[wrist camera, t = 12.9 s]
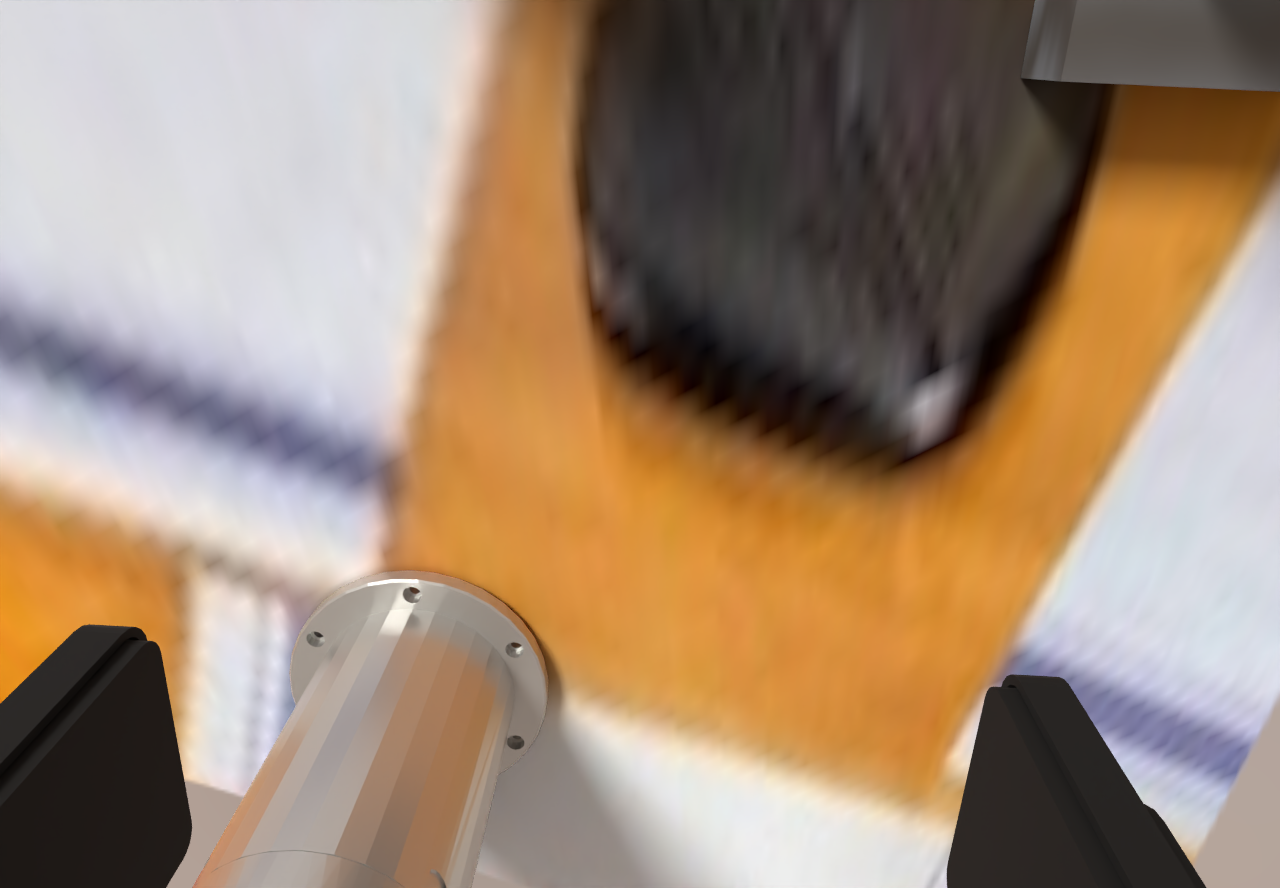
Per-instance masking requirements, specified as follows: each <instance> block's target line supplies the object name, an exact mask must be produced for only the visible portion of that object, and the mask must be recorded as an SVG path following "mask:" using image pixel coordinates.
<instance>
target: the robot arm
mask: <svg viewBox="0 0 1280 888" xmlns="http://www.w3.org/2000/svg"><path fill="white" fill-rule="evenodd" d="M416 588H417V589H416ZM289 674H290V682H291V691H292V696H293V698H294V701H295V704H296V707H295V709H294V710H293V712H292V714H291V716H290V717H289V719H288V721H287V723H286V724H285V726H284V728H283V730H282V731H281V733H280V735H279V737H278V738H277V740H276V742H275V744H274V745H273V747H272V749H271V751H270V752H269V754H268V756H267V758H266V759H265V761H264V763H263V765H262V766H261V768H260V770H259V772H258V773H257V775H256V777H255V779H254V780H253V782H252V784H251V786H250V787H249V789H248V791H247V793H246V794H245V796H244V798H243V800H242V801H241V803H240V805H239V807H238V808H237V810H236V812H235V814H234V815H233V817H232V819H231V821H230V822H229V824H228V826H227V828H226V829H225V831H224V833H223V835H222V836H221V838H220V840H219V842H218V843H217V845H216V847H215V848H214V850H213V852H212V854H211V855H210V857H209V859H208V861H207V863H206V864H205V866H204V868H203V870H202V872H201V873H200V875H199V877H198V878H197V880H196V882H195V884H194V885H193V887H192V888H471V887H472V883H473V879H474V875H475V871H476V866H477V862H478V858H479V854H480V850H481V845H482V841H483V837H484V833H485V829H486V824H487V820H488V816H489V812H490V808H491V803H492V799H493V795H494V791H495V787H496V782H497V778H498V775H499V774H501V773H502V772H504V771H505V770H507V769H509V768H510V767H512V766H513V765H514V764H515V763H516V762H517V761H518V760H519V759H520V758H521V757H522V756H523V755H524V754H525V753H526V752H527V751H528V749H529V748H530V746H531V745H532V743H533V742H534V740H535V739H536V737H537V736H538V733H539V731H540V728H541V725H542V723H543V720H544V717H545V712H546V706H547V701H548V674H547V670H546V665H545V661H544V657H543V655H542V653H541V650H540V648H539V646H538V644H537V642H536V640H535V638H534V636H533V635H532V633H531V632H530V631H529V629H528V628H527V627H526V625H525V624H524V622H523V621H522V620H521V619H520V618H519V617H518V616H517V615H516V614H515V613H514V612H513V611H512V610H511V609H510V608H509V607H508V606H506V605H505V604H504V603H503V602H502V601H500V600H499V599H497V598H496V597H494V596H492V595H491V594H489V593H488V592H486V591H485V590H483V589H481V588H479V587H477V586H474V585H472V584H470V583H468V582H465V581H463V580H461V579H458V578H454V577H450V576H446V575H443V574H439V573H435V572H424V571H414V570H405V571H391V572H383V573H379V574H375V575H371V576H367V577H363V578H360V579H358V580H356V581H354V582H352V583H350V584H348V585H345V586H343V587H341V588H340V589H338V590H337V591H336V592H334V593H333V594H332V595H330V596H329V597H328V598H326V599H325V600H324V601H323V602H322V603H321V604H320V605H319V606H318V608H317V609H316V610H315V611H314V612H313V613H312V615H311V616H310V617H309V619H308V620H307V622H306V623H305V625H304V627H303V628H302V630H301V631H300V633H299V635H298V638H297V641H296V643H295V646H294V649H293V652H292V656H291V664H290V673H289ZM191 832H192V821H191V815H190V809H189V804H188V798H187V793H186V787H185V782H184V776H183V771H182V765H181V760H180V754H179V749H178V743H177V738H176V732H175V727H174V721H173V716H172V710H171V705H170V699H169V694H168V688H167V683H166V677H165V672H164V666H163V661H162V655H161V651H160V648H159V646H158V645H157V643H156V642H153V641H147V638H146V635H145V634H144V632H143V631H142V630H141V629H139V628H137V627H124V626H106V625H84V626H81V627H80V628H79V629H77V630H76V631H74V632H73V633H72V634H71V635H70V636H69V637H68V638H67V639H66V640H65V641H64V642H63V643H62V644H61V645H60V646H59V647H58V648H57V649H56V650H55V651H54V652H53V653H52V654H51V655H50V656H49V657H48V658H47V659H46V660H45V661H44V662H43V663H42V664H41V665H40V666H39V667H38V668H37V669H36V670H34V671H33V672H32V673H31V674H30V675H29V676H28V677H27V678H26V679H25V680H24V681H23V682H22V683H21V684H20V685H19V686H18V687H17V688H16V689H15V690H14V691H13V692H12V693H11V694H10V695H9V696H8V697H7V698H6V699H5V700H4V701H3V702H2V703H1V704H0V888H166V887H167V885H168V883H169V881H170V880H171V878H172V877H173V875H174V873H175V872H176V870H177V869H178V867H179V865H180V863H181V862H182V860H183V858H184V856H185V854H186V852H187V849H188V846H189V843H190V839H191ZM947 888H1206V887H1205V885H1204V883H1203V882H1202V880H1201V878H1200V877H1199V876H1198V874H1197V872H1196V871H1195V869H1194V868H1193V866H1192V864H1191V863H1190V861H1189V860H1188V858H1187V857H1186V855H1185V853H1184V852H1183V850H1182V849H1181V847H1180V846H1179V844H1178V842H1177V841H1176V839H1175V838H1174V836H1173V835H1172V833H1171V831H1170V830H1169V828H1168V827H1167V825H1166V824H1165V822H1164V821H1163V820H1162V818H1161V817H1160V816H1159V815H1158V814H1157V812H1156V811H1155V810H1154V809H1152V808H1150V807H1149V806H1147V805H1145V804H1143V802H1142V801H1141V799H1140V797H1139V796H1138V794H1137V793H1136V791H1135V789H1134V788H1133V786H1132V785H1131V783H1130V781H1129V780H1128V778H1127V777H1126V775H1125V773H1124V772H1123V770H1122V769H1121V767H1120V766H1119V764H1118V762H1117V761H1116V759H1115V758H1114V756H1113V754H1112V753H1111V751H1110V750H1109V748H1108V746H1107V745H1106V743H1105V742H1104V740H1103V738H1102V737H1101V735H1100V734H1099V732H1098V730H1097V729H1096V727H1095V726H1094V724H1093V722H1092V721H1091V719H1090V718H1089V716H1088V714H1087V713H1086V711H1085V710H1084V708H1083V706H1082V705H1081V703H1080V702H1079V700H1078V698H1077V697H1076V695H1075V694H1074V692H1073V690H1072V689H1071V687H1070V686H1069V684H1068V683H1067V682H1066V681H1065V680H1064V679H1062V678H1060V677H1048V676H1030V675H1009V676H1007V677H1006V678H1005V680H1004V681H1003V684H1002V687H991V688H989V690H988V691H987V693H986V696H985V700H984V705H983V709H982V713H981V718H980V722H979V727H978V731H977V736H976V740H975V745H974V749H973V754H972V758H971V762H970V767H969V771H968V776H967V780H966V785H965V789H964V794H963V798H962V803H961V807H960V811H959V816H958V820H957V825H956V829H955V834H954V838H953V843H952V847H951V852H950V856H949V860H948V866H947Z"/></svg>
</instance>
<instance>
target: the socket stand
mask: <svg viewBox="0 0 1280 888" xmlns="http://www.w3.org/2000/svg"><path fill="white" fill-rule="evenodd" d="M1021 78H1026V79H1038V80H1050V81H1063V82H1084V83H1105V84H1127V85H1148V86H1169V87H1191V88H1212V89H1233V90H1254V91H1276V92H1280V0H1035V4H1034V9H1033V14H1032V20H1031V25H1030V31H1029V36H1028V41H1027V47H1026V52H1025V58H1024V63H1023V69H1022V74H1021Z"/></svg>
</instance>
